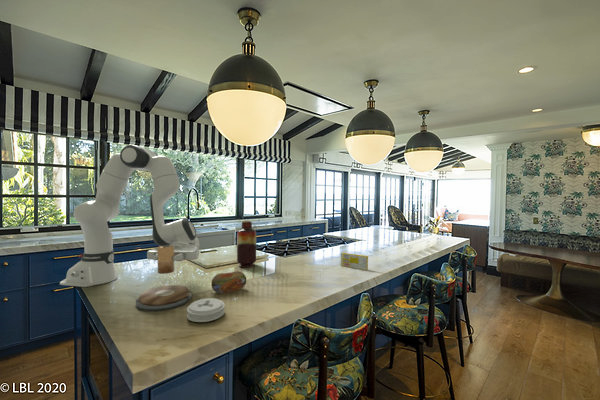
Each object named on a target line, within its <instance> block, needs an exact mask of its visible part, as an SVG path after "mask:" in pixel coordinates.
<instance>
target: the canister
mask: <svg viewBox="0 0 600 400" xmlns="http://www.w3.org/2000/svg"><path fill="white" fill-rule="evenodd" d="M157 252H158V260H157V273H158V274H160V275H164V274H171V273H174V272H175V261H174V260H172V259H173V258H172V257H173V256H174V246H170V245H167V246H160V245H159V246H158V247H157Z"/></svg>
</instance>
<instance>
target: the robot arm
mask: <svg viewBox="0 0 600 400" xmlns="http://www.w3.org/2000/svg"><path fill="white" fill-rule="evenodd" d="M134 171H140V172H145V173H146V172H147V173H150V175H151V179H152V181H153V191H152V193H151V194H150V197H149V204H150V214H151V224H152V240H153V242H154V244H156V245H158V246H159V247H160V246H174V256H173V257H172V258H173V259H172V260H174V262H182V261H190V260H191V261H194V260H196V259H199V255H200V240H199V238H198V237H197V230H196V228H195V227H196V226H195V224H194V223H193V222H192V221H191V220H189V219H187V218H181V219H178V220H175V221H172V222H169V223H165V218H164V205H166V203H167V201H169V200H170V199H172V197H175V195H176V194H177V192H178V191H179V189H180V186H181V185H180V179H179V176H178V173H177V170H176V168H175V165H174V164H173V162H172V160H171V158H170V157H168V156H165V155H159V154H158V153H156V152H155V151H153V150H151V149H149V148H146V147H142V146H139V145H136V144H135V145H134V144H129V145H125V146H124V147H123V148H122V149H121V150H120V152H117V153H114V154H113V155H112V156H111V157H110V159H109V160H108V161H107V163H106V165H105V166H104V167H103V169H102V172H101V173H100V175H99V178H98V180H97V182H96V184H95V187H96V193H95V194H96V195H95V198H94V200H88V201H84V202H82V203H80V204H78V205H76V207H75V208H74V210H73V217H74V220H75V221H76V222H78V224H79V226H80V228H81V231H82V234H83V242H84V252H83V253H82V254H78V258H81V259H80V261H78V262H77V263H76V264H74V265H72V267H69V269H68V270H67V272H66V277H65V279H63V280H61V281H59V285H60V286H69V287H79V288H87V287H92V286H97V285H102V284H107V283H109V282H113V281H115V280H116V279H118V276H117V274H116V270H115V269H116V268H115V264H114V263H115V262H114V259H115V251H114V247H113V244H114V242H113V233H112V232H111V231H110V228H109V224H108V222H110V221H113V220H114V219H115V218H116V217H118V215H119V214H120V203H121V198H122V196H123V195H122V194H123V192H124V190H125V188H126V186H127V183H128V182H129V180H130V177H131V174H132V173H134ZM157 248H158V247H157ZM157 248H153V249H149V250H147V252H146V258H147V260H153V261H158V252H157Z"/></svg>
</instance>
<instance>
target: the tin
mask: <svg viewBox="0 0 600 400" xmlns="http://www.w3.org/2000/svg"><path fill="white" fill-rule="evenodd" d="M211 279H212V280H211V284H210V285H211V288H212V290H213V291H214V292H215V293H217V294H221V295H222V294H226V293H231V292H238V291H240V290H242V289H244V287H246V284H247V277H246V275H245V274H244V273H243V272H242V271H238V270H236V271H229V272H221V273H217V274H216V275H215V276H213V278H211Z"/></svg>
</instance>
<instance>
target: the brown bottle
mask: <svg viewBox="0 0 600 400" xmlns="http://www.w3.org/2000/svg"><path fill="white" fill-rule="evenodd" d="M236 262H237V263H238V267H240V268H245V269H246V268H248V269H249V268H252V267H255V263H256V262H257V231H256V229H254V228H253V223H252V221H250V220H244V221H241V228H240V229H238V230H237V233H236Z"/></svg>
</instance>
